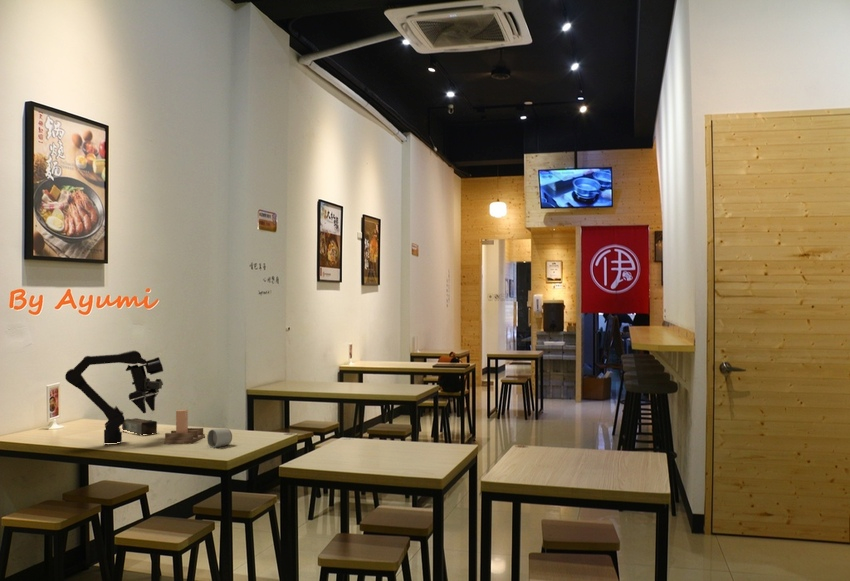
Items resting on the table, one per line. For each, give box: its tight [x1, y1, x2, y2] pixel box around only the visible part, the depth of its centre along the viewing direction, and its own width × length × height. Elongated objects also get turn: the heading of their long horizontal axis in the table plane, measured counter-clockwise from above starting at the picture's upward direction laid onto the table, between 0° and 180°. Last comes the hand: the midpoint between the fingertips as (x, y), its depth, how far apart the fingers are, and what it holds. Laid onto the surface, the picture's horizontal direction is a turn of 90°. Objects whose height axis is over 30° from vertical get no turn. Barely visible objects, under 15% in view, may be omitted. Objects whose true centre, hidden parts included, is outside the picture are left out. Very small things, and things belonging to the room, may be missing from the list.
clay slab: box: [175, 409, 189, 433], centre depth 305 cm, size 4×3×12 cm
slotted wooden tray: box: [163, 427, 206, 445], centre depth 308 cm, size 12×16×4 cm
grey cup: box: [206, 427, 233, 449], centre depth 295 cm, size 11×8×8 cm
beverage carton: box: [121, 418, 158, 435], centre depth 329 cm, size 8×19×7 cm, turn 50°
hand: (149, 411), depth 308 cm, fingers open, 9 cm apart
